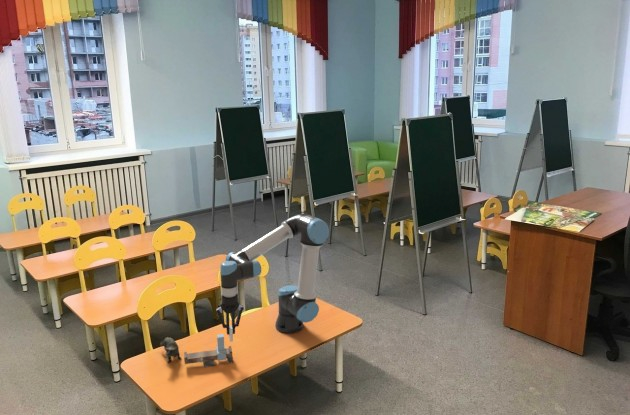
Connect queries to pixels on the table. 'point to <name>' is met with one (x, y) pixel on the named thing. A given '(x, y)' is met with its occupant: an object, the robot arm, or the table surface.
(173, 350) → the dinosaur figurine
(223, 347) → the rider
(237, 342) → the table surface
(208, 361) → the beam
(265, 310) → the table surface
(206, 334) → the table surface
